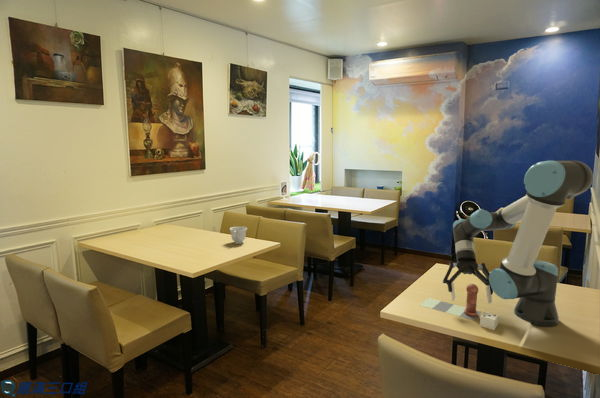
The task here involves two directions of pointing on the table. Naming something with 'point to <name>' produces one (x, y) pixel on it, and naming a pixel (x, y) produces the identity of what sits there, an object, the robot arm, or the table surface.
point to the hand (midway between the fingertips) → (471, 300)
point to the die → (489, 320)
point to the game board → (447, 308)
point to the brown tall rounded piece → (471, 300)
